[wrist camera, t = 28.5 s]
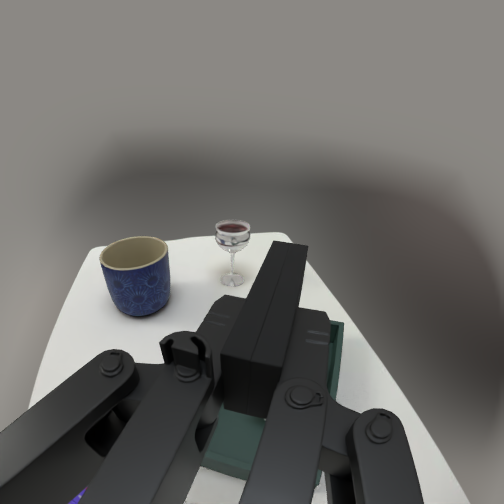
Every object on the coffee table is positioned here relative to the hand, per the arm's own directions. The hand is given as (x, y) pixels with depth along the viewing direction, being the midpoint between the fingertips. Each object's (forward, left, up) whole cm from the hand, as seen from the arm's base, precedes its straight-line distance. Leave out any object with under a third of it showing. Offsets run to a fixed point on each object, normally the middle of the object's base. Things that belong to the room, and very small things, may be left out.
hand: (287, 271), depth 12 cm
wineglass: (+16, -35, -26) cm, 47 cm away
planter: (+29, -21, -26) cm, 45 cm away
